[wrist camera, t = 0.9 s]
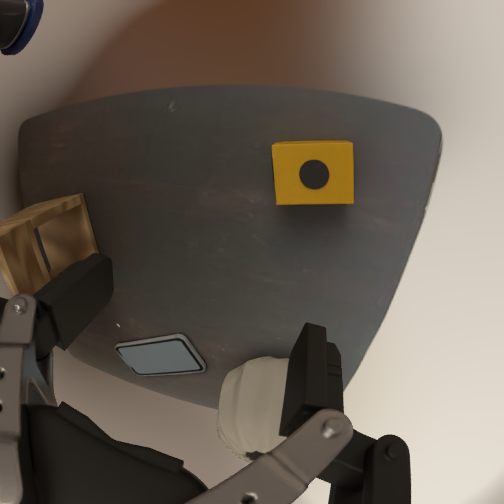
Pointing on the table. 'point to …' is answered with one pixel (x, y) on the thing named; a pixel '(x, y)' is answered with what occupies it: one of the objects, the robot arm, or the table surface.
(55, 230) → the shelf
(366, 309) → the table surface
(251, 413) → the vase
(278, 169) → the measuring tape
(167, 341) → the smartphone
